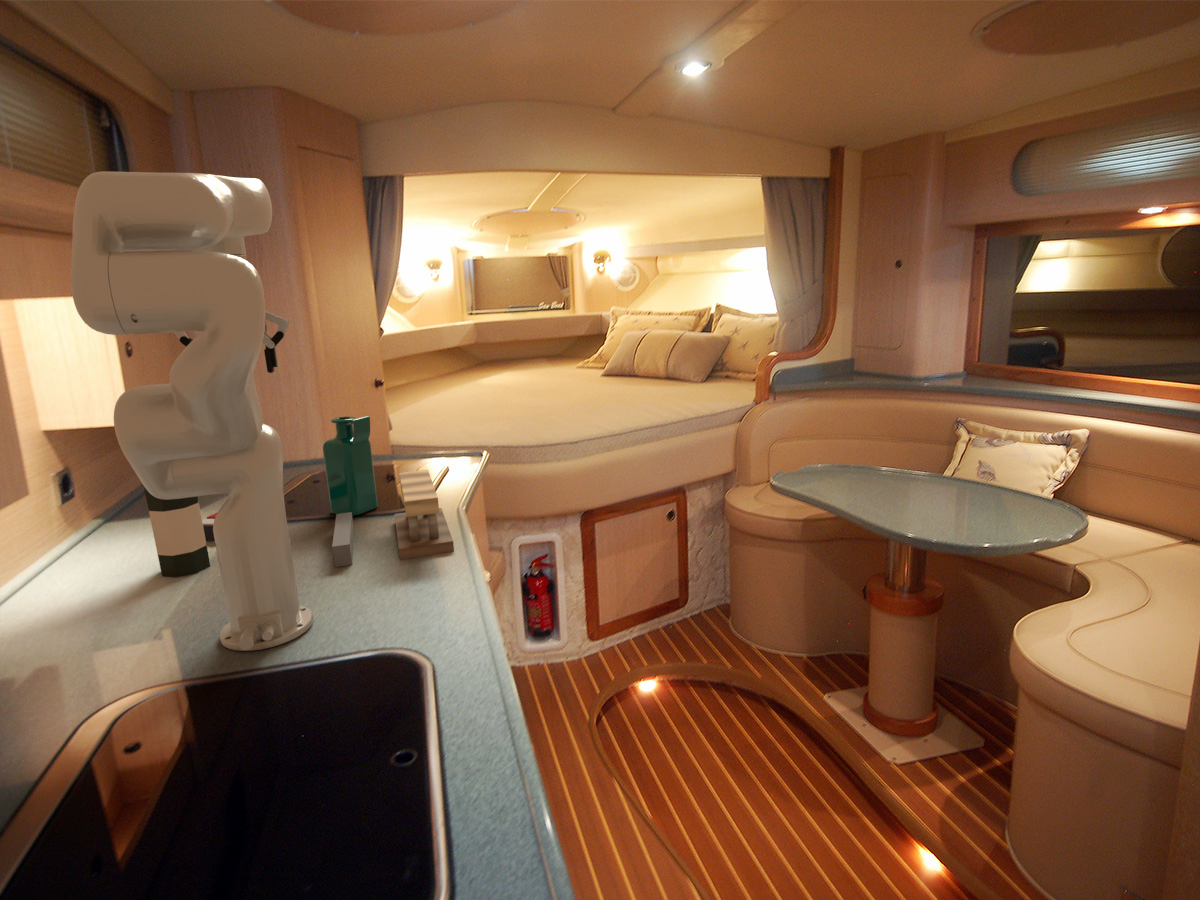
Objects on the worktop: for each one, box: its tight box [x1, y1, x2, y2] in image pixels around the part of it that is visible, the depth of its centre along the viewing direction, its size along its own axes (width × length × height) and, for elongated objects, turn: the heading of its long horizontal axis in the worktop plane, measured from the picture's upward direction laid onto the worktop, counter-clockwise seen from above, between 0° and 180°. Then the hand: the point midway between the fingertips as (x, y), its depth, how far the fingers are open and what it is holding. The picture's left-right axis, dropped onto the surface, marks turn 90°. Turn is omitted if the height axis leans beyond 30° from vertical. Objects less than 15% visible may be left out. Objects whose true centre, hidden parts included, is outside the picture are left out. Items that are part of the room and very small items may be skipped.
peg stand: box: [393, 507, 455, 560], centre depth 138 cm, size 22×10×8 cm, turn 18°
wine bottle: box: [143, 486, 211, 578], centre depth 124 cm, size 8×8×30 cm
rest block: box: [331, 512, 355, 568], centre depth 134 cm, size 20×3×4 cm, turn 18°
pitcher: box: [322, 415, 379, 517], centre depth 155 cm, size 10×8×22 cm
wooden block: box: [399, 469, 440, 517], centre depth 137 cm, size 22×6×3 cm, turn 18°
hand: (239, 374), depth 113 cm, fingers open, 9 cm apart
